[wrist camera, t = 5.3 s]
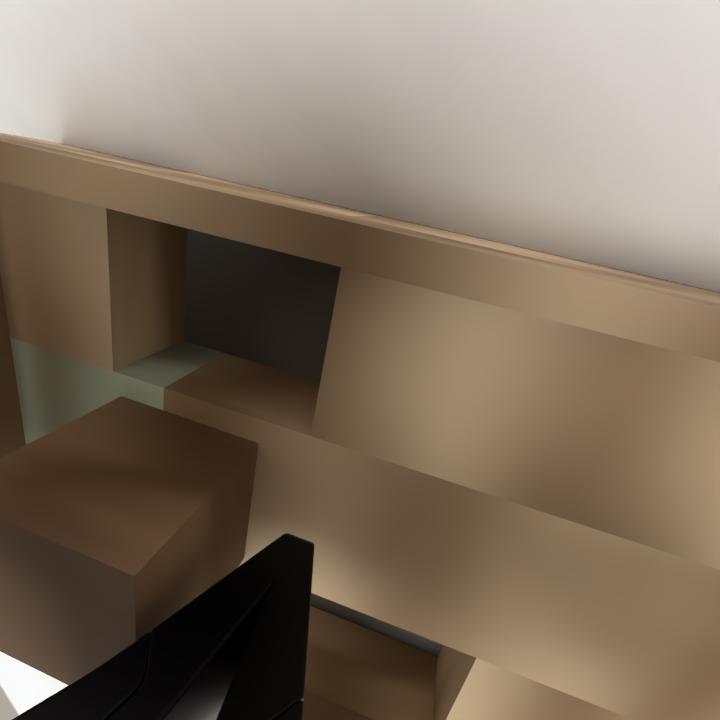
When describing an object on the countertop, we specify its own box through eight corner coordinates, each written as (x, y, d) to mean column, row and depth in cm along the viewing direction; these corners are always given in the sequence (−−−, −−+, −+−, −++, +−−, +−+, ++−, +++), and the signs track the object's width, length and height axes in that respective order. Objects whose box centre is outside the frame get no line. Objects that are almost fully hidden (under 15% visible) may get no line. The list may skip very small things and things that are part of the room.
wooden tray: (929, 339, 8) (1806, 574, 3) (614, 732, 14) (707, 1060, 9) (60, 143, 12) (-290, 80, 6) (90, 521, 18) (-81, 659, 12)
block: (258, 443, 10) (134, 576, 6) (243, 558, 11) (137, 719, 8) (121, 395, 10) (-64, 490, 7) (124, 510, 12) (-26, 638, 8)
